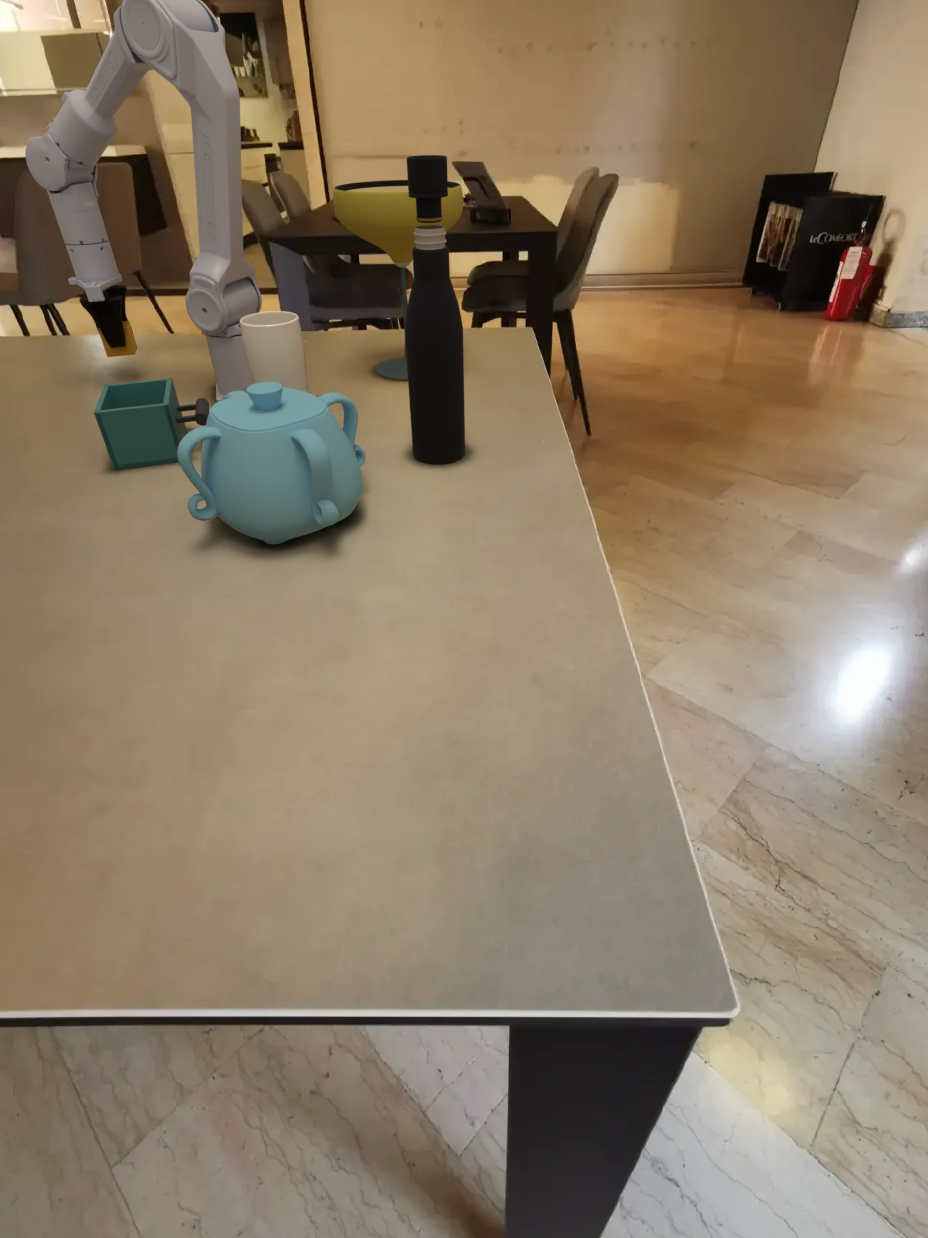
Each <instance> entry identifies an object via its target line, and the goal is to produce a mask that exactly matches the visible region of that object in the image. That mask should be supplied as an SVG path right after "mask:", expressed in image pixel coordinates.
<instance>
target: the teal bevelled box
mask: <svg viewBox="0 0 928 1238" xmlns="http://www.w3.org/2000/svg"><path fill="white" fill-rule="evenodd" d="M175 387H176V386H175V384H174V381H173V377H165V378H158V379H156V378H155V379H148V380H139V381H138V380H137V381H128V382H127V381H126V382H119V383H109V384H103V387H102V390H101V393H100V395H99V398H98V401H97V402H96V407H95V409H94V411H93V414H94V417H95V420H96V423H97V426H98V428H99V429H98V430H99V431H100V434H101V437H102V441H103V442H104V445H105V447H106V450H107V453H108V455H109V459H110V461H111V465H112V466H113V469H114V471H118V470H126V469H133V468H140V467H147V466H155V465H162V464H163V465H164V464H170V463H179V461H178V456H177V450H178V446H179V443H180V441H181V440H182V439H183V437H184V436H185V435H186V434H188V429H187V427H186V424H185V423H192V422H195V423H196V424H197V425H199V426H200V427H206V422H207V418H208V415H209V412H210V403H209V400H208V399H206V398H204V397H198V398H197V399H196V400H195V403H191V404H182V405H180V402H179V398H178V395H177V391H176V388H175ZM191 411H194V412H195V413H194V414H192V415H183V412H191Z"/></svg>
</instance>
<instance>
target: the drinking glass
mask: <svg viewBox="0 0 928 1238" xmlns="http://www.w3.org/2000/svg"><path fill="white" fill-rule="evenodd" d="M300 321H301V320H300V317H299V315H298V314H297V313H295V312H291V311H287V310H286V311H285V310H270V311H269V310H268V311H260V312H259V313H254V314H250V315H247V316H244V317H243V318H241V319H240V328H241V334H242V340H243V345H244V350H245V354H246V358H247V362H248V366H249V369H250V372H251V376H252V379H253V383H254V384H255V383H259V382H276V383H279V384H281V385H282V388H292V389H297V390H301V391H304V392H307V393H309V388H308V373H307V362H306V361H307V360H306V350H305V342H304V337H303V336H304V335H303V332H302V327H301V322H300Z"/></svg>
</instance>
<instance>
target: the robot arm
mask: <svg viewBox="0 0 928 1238" xmlns="http://www.w3.org/2000/svg"><path fill="white" fill-rule="evenodd" d="M112 17H113V24H114V30H113V32H112V34H111V37H110V39H109V41H108V43H107V45H106V47H105V50H104V51H103V53H102V55H101V58H100V60H99V62H98V64H97V66H96V68H95V70H94V72H93V75H92V76H91V79H90V81H89V83H88V85H87V87H86V89H85V90H84V89H73V90H71V91H64V93H63V94H62V96H61V98H60V100H61V102H62V103H63V104H62V106H61V108H60V109H59V111H58V113H57V115H56V116H55V118H54V120H53V121H52V122H49V123H48V124H47V126H46V130H47V131H46V133H43V135H42V136H32V137H30V138H28V140H27V145H26V147H25V153H24V154H25V162H26V166H27V168H28V170H29V172H30V174H31V176H32V177H33V179H34V180H35V182H36V183H37V184H38V185H39V186H40V187H42V188H43V189H45V190H46V192H47V195H48V198H49V202H50V204H51V207H52V210H53V213H54V216H55V219H56V221H57V222H56V223H57V225H58V228H59V230H60V233H61V237H62V239H63V242H64V245H65V248H66V251H67V254H68V256H69V257H68V258H69V260H70V262H71V265H72V268H73V271H74V275H75V276H72V277H69V278H68V279H67V281H68V283H69V285H70V286H75V285H76V286H78V287H80V288H81V289H83V290H84V291H85V295H86V296H81V297H79V303H80V305H81V306H82V308H83V309H84V310H85V311H86V312H87V313H88V314H89V315H90V317H91V318H92V320H93V321H94V322H95V324H96V325H97V327H98V329H100V330H101V332H102V334H103V336H104V338H105V339H106V341H107V343H108V344H109V346H110V347H111V348H116V347H125V334H124V328H123V323H122V321H128V320H127V312H126V297H127V291H128V287H127V285H126V284H120V283H121V282H123V277H122V274H121V273H120V272H119V269H118V265H117V262H116V258H115V255H114V252H113V248H112V246H111V242H110V239H109V236H108V233H107V229H106V226H105V222H104V219H103V216H102V213H101V209H100V206H99V203H98V202H99V197H100V195H99V192H98V188H97V181H98V177H99V169H98V164H97V163H98V162H99V160H100V159H101V157H102V155H104V152H105V151H106V149H107V148H108V147H109V145H110V143H111V142H112V140H113V139H114V137H115V136H116V134H117V132H118V125H117V121H116V117H115V114H117V112H118V111H119V110H120V108H121V107H122V105H124V103H125V101H126V100H127V99H128V97H130V95H131V94H132V92H134V90H135V88H137V86H138V85H139V83H140V82H141V81H142V79H143V78H144V77H145V76H146V74H147V73H148V72H150V71H154V72H156V73H157V74H159V75H160V76H161V77H162V78H163V79H165V80H166V81H167V82H169V84H171V85H173V87H174V88H175V89H176V90H177V91H178V92H179V94H180V95H181V97H183V98H184V100H185V101H186V102H187V104H188V105H189V107H190V114H191V117H190V118H191V133H192V149H193V150H192V151H193V164H194V165H193V167H194V181H195V199H196V200H195V201H196V214H197V215H196V216H197V230H198V231H197V233H198V247H199V249H198V250H199V253H198V255H197V257H196V259H195V261H194V262H193V265H192V267H191V269H190V270H189V286H188V290H187V292H186V293H185V294H186V295H185V309H186V312H187V314H188V316H189V318H190V320H191V322H192V323H193V324H194V325H195V326H196V328H197V329H198V330H200V331H201V332H200V333H201V335H202V336H205V340H206V344H207V348H208V352H209V357H210V359H211V360H210V361H211V365H212V368H213V373H214V378H215V381H216V383H215V399H216V403H217V402H219V401H222V400H224V398H225V396H226V395H227V394H229V393H230V392H233V391H244V392H246V393H247V390H246V389H247V388H248V387H249V386H251V385H253V384H254V383H253V379H252V376H251V372H250V369H249V366H248V362H247V358H246V354H245V350H244V345H243V340H242V334H241V328H240V319H241V318H243V317H244V316H247V315H250V314H254V313H259V312H261V310H262V305H263V300H262V294H261V291H260V288H259V286H258V283H257V279H256V278H257V277H256V268H255V266H254V265H252V263H250V262H249V261H248V260H247V259H246V258H245V257H244V228H243V225H244V224H243V223H244V221H243V185H242V184H243V182H242V181H243V179H242V137H241V136H242V135H241V99H240V91H239V88H238V85H237V81H236V79H235V75H234V72H233V70H232V66H231V63H230V61H229V58H228V54H227V52H226V30H225V27H223V25H222V24H221V22H220V21H219V20H218V18H217V17H216V15H215V14H214V13H213V12H212V10H211V9H210V8H209V6H207V4H206V3H205V2H204V1H202V0H122V3H121V5H120V6H119V7H118V8H117V9H116V10H114V13H113V16H112Z"/></svg>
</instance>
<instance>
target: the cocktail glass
mask: <svg viewBox="0 0 928 1238" xmlns="http://www.w3.org/2000/svg"><path fill="white" fill-rule="evenodd" d="M408 192H409V191H408V179H389V180H388V179H387V180H385V179H384V180H372V181H371V180H370V181H369V180H368V181H359V182H351V183H343V184H339V185H336V186H334V188H333V192H332V196H333V197H332V198H333V199H332V201H333V209H334V213H335V216H336V219H337V220H338V221H339V223H340V224H341V225H342V226H343V227H345V228H346V230H348V231H349V232H351V233H352V234H354V235H356V236H357V237H359V238H360V239H363V240H365V242H368V243H370V244H372V245H374V246H376V247H377V248H379V249H380V250H382V251H384V252H385V254H387V255H388V257H389V258H390V259H391V261H392V262H393V263H394V265H395V266H396V267H397V268H400V275H401V276H400V277H401V292H402V307H403V327H404V328H403V329H404V330H405V322H406V313H407V305H408V297H407V282H406V281H407V280H406V279H407V278H406V268H407V267H409V266H410V264H411V263H413V253H412V250H413V248H414V247H416V244H415V243H414V240H415V235H414V234H413V233H414V232H415V227H417V226H422V225H441V226H444V227H445V231H446V232H448V231H449V230H450V229H452V227H453V226H454V225H455V224H456V223H457V222H458V221H459V220H460V218H461V216H462V213H463V209H464V193H463V188H462V185H461V183H459V182H455V181H451V180H448V196H447V197H442V198H441V208H442V217H443V219H442V221H441V222H436V223H420V222H417V220H416V217H417V212H416V198H410V197H409V193H408ZM375 373H376V374H377V375H378V376H380V377H382V378H384V379H388V380H393V381H394V380H395V381H408V372H407V357H406V343H405V342H404V353H403V357H399V358H394V359H389V360H386V361H383V362H380V363H379V364H378V365H377V366H376V367H375Z"/></svg>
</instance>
